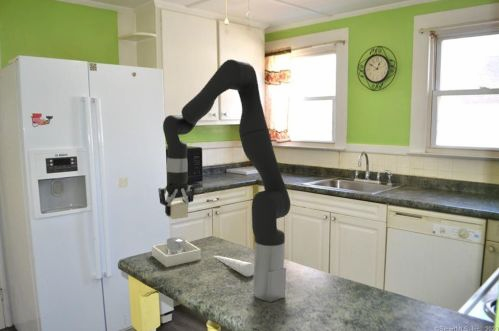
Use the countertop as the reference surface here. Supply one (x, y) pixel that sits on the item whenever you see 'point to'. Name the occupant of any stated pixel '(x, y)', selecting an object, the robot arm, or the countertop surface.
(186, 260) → the box
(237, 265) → the unicorn horn
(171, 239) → the tin can
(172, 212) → the carton
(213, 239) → the countertop surface
